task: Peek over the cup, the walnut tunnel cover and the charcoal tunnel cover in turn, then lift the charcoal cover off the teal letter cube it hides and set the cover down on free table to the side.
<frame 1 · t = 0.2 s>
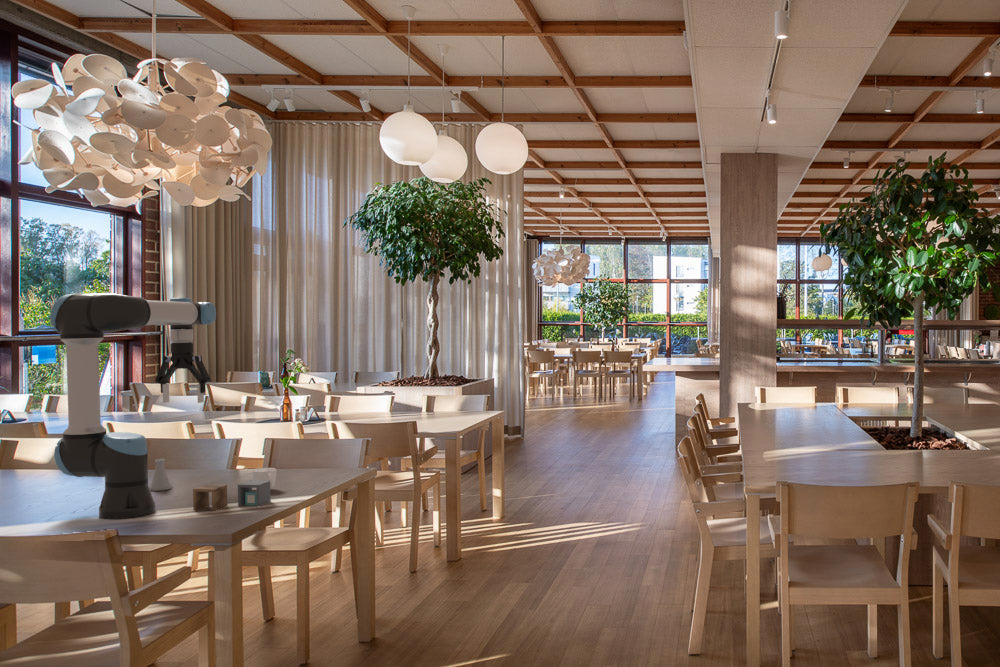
hand: (183, 402, 305), 28 cm above the table, fingers open, 13 cm apart
letter cube: (254, 504, 266), on the table
cover walnut: (210, 508, 260), on the table
flask: (160, 490, 292), on the table
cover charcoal: (254, 503, 266), on the table
cup: (265, 491, 287), on the table
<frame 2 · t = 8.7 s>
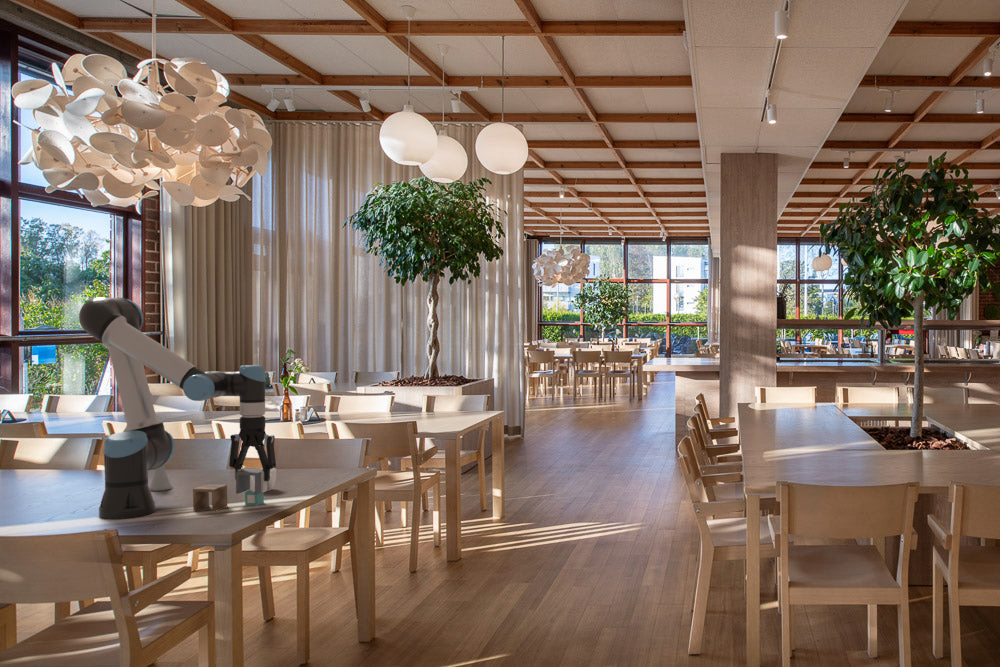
hand: (252, 490, 266), 4 cm above the table, fingers closed on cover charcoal, 7 cm apart
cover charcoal: (252, 491, 266), point 4 cm above the table, touching gripper
everything else where it was.
when the fingers open (0 cm above the table, at t = 13.9 s): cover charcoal stays where it is, on the table.
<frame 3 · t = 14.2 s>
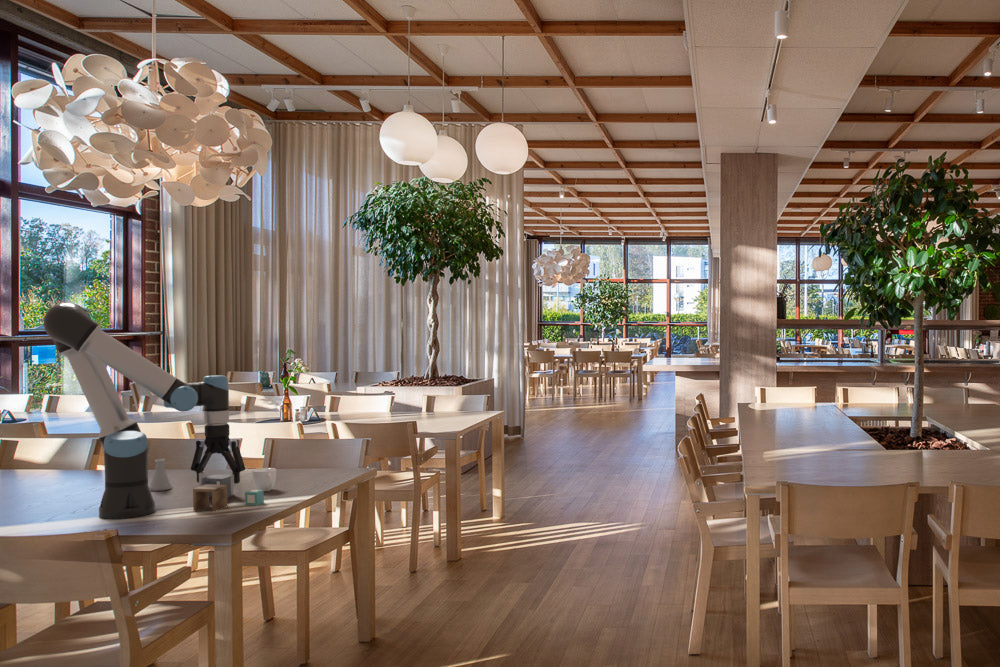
hand: (218, 493, 277), 1 cm above the table, fingers open, 10 cm apart
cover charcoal: (218, 497, 277), on the table
everything else where it was.
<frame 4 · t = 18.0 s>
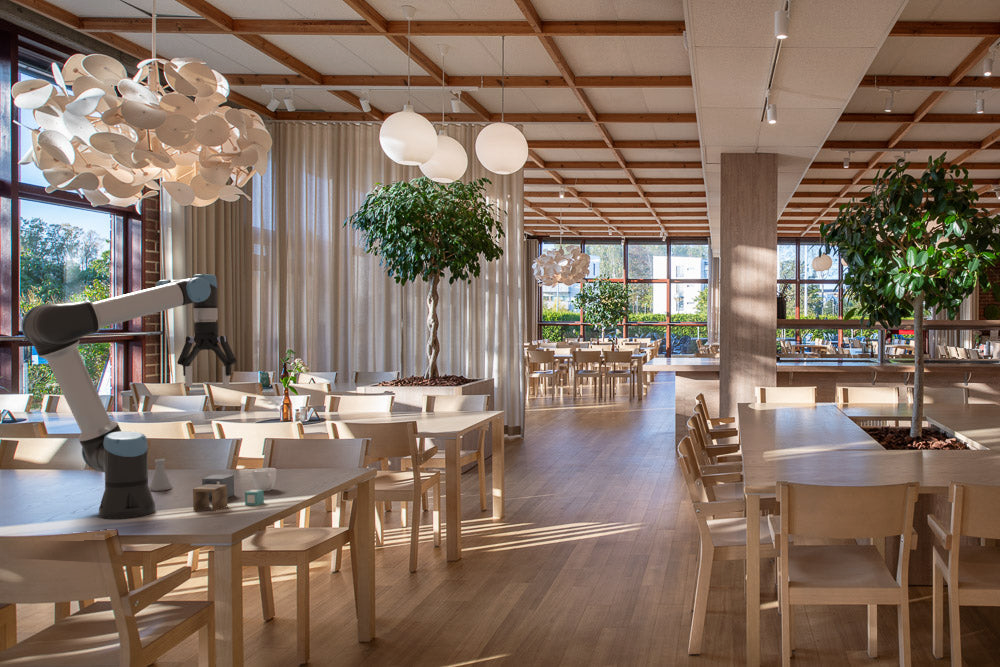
hand: (207, 386, 286), 35 cm above the table, fingers open, 13 cm apart
nothing on the table moved.
at the end: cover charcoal inside the target area (0.0 cm from its centre), on the table; letter cube touching table; letter cube inside the target area (0.0 cm from its centre), on the table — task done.
